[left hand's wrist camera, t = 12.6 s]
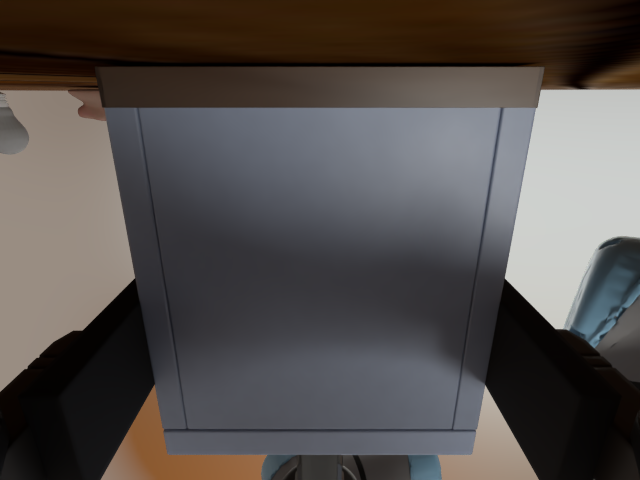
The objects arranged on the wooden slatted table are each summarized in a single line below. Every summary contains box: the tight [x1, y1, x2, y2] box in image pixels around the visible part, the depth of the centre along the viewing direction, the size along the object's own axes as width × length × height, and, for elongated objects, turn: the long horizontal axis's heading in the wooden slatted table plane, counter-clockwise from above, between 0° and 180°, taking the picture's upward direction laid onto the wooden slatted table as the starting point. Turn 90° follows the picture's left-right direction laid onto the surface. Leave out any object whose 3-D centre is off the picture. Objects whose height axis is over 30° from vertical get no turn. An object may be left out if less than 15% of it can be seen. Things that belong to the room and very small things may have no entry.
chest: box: [95, 67, 545, 430], centre depth 18 cm, size 17×10×10 cm, turn 0°
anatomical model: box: [68, 89, 106, 121], centre depth 42 cm, size 13×4×12 cm
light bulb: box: [0, 92, 29, 154], centre depth 65 cm, size 6×6×10 cm
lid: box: [164, 427, 476, 455], centre depth 22 cm, size 18×10×8 cm, turn 0°
